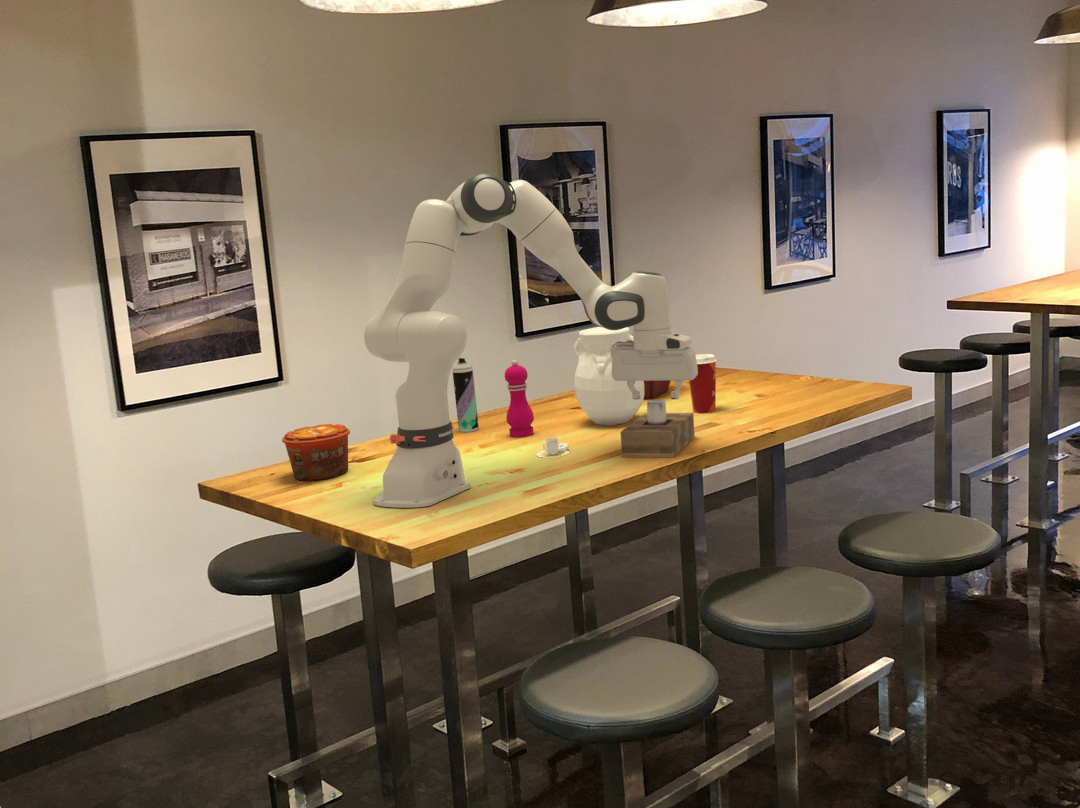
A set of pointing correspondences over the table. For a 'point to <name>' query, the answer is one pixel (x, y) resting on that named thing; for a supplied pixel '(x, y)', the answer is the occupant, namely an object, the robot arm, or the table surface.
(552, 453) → the teacup and saucer
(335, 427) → the food container
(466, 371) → the spray can
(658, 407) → the pin
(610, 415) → the pitcher
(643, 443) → the socket block
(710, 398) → the coffee cup
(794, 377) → the table surface
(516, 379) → the pepper mill
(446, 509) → the table surface
